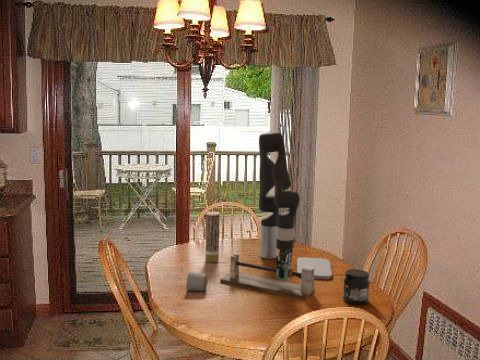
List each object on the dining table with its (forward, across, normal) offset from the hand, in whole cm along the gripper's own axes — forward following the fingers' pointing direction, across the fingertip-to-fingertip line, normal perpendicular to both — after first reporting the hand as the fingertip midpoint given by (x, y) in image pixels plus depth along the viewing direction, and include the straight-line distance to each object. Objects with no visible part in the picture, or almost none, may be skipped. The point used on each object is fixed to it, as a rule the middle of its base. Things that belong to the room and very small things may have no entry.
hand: (283, 275), depth 197 cm
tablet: (+7, -32, +4) cm, 33 cm away
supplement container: (+7, -4, +30) cm, 31 cm away
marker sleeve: (+1, 0, 0) cm, 1 cm away
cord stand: (+6, 0, -8) cm, 10 cm away
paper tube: (+7, -18, -46) cm, 50 cm away
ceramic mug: (+7, +18, -33) cm, 38 cm away
